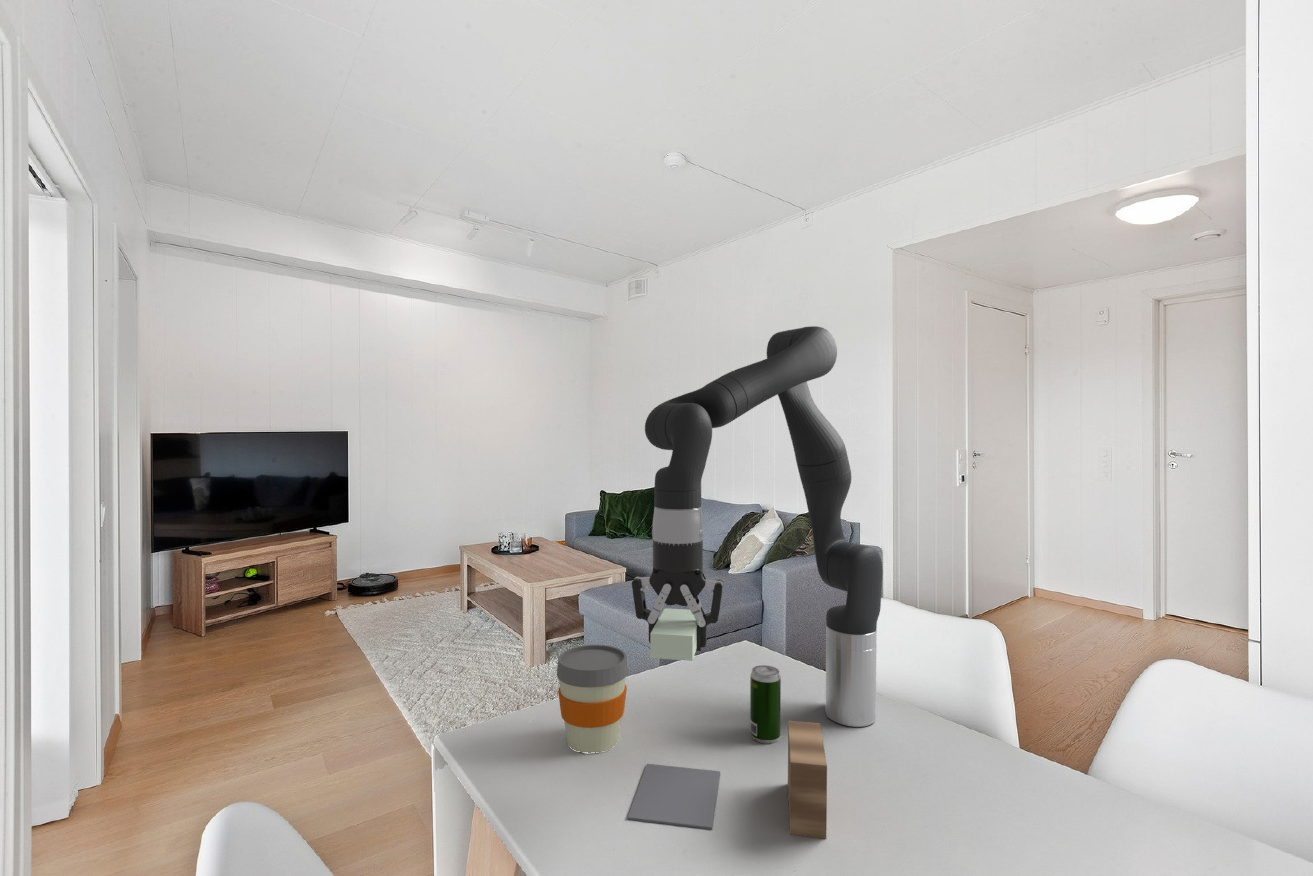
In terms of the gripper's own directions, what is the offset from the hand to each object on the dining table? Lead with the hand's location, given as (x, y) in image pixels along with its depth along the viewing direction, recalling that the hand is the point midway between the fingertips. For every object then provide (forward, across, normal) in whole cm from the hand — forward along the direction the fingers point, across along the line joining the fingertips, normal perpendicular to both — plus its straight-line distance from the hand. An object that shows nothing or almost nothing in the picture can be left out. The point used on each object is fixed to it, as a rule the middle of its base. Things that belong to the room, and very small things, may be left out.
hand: (677, 647), depth 93 cm
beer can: (+23, -13, -20) cm, 33 cm away
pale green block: (-1, 0, 0) cm, 1 cm away
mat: (+22, 0, 0) cm, 22 cm away
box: (+22, -19, 0) cm, 29 cm away
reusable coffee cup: (+23, +17, -13) cm, 31 cm away
